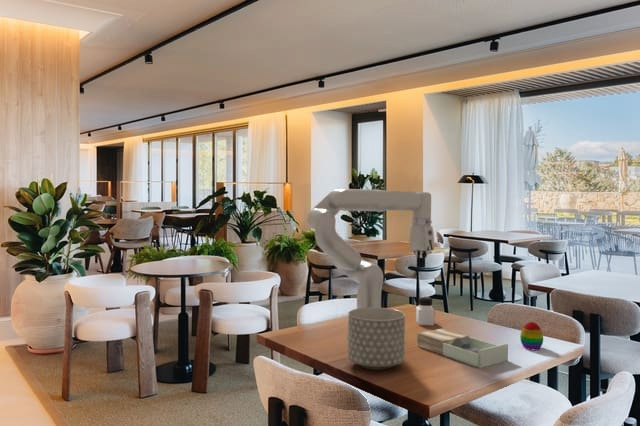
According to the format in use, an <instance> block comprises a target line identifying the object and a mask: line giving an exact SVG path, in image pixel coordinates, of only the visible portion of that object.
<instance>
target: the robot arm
mask: <svg viewBox="0 0 640 426" xmlns="http://www.w3.org/2000/svg"><path fill="white" fill-rule="evenodd" d="M340 211H342V212H381V211H382V212H383V211H410V212H411V211H412V215H411V216H412V217H411V220H412V221H411V222H412V223H411V227H410V233H409V247H410V251H411V252H412V253H413V254H414V255H415V257H416V268H419V269H423V268H426V259H427V256H428V255H430V254H431V255H432V251H434V249H435V235H434V229H433V225H432V223H433V220H432V194H431V193H430V192H427V191H419V192H418V191H417V192H416V191H412V190H409V191H408V190H407V191H406V190H404V191H403V190H397V191H396V190H383V189H369V188H368V189H364V188H363V189H361V188H359V189H356V188H339V189H337V188H336V189H334V190H332V191H331V192H329V193H328V194H327V195H326V196H325V197H324V198H322V200H321V201H319V203H317V204H316V205H315V206H314V207H313V208H311V210H310V211H309V212H308V215H307V217H306V221H307V224H308V227H310V228H311V229H313V230H314V239H315V243H316V244H317V246H318V247H319V249H320V250H321V251H322V252H324V253H325V254H326V255H327V256H328V257H329V258H330V261H331V262H332V265H333V266H334V267H335V268H336V269H338V270H339V271H340V272H341V273H343V274H344V275H345V276H347V277H348V278H349V279H350V280H352V281H353V282H355V283H357V284H358V286H357V287H358V288H357V292H356V309H359V308H382V289H383V285H384V284H383V283H384V273H383V269H382V268H381V267H380V266H379V265H377V264H376V263H374V262H370V261H368V260H365V259H364V258H362V256H361V254H360V252H359V251H358V250H357V249H356V248H355V247H353V246H352V245H351V244H349V243H348V242H347V241H346V240H345V239H343V237H341V236H340V235H339V233H338V232H337V230H336V221H337V220H336V215H337V214H338V213H339V212H340ZM346 340H347V341H348V334H347V335H346Z"/></svg>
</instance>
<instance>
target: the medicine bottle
mask: <svg viewBox="0 0 640 426" xmlns="http://www.w3.org/2000/svg"><path fill="white" fill-rule="evenodd" d="M415 312H416V313H415V322H416V323H417V324H418V326H435V314H436V311H435V309H434V308H433V298H431V297H429V296H420V297H419V298H418V306H416V309H415Z"/></svg>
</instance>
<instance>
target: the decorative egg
mask: <svg viewBox="0 0 640 426" xmlns="http://www.w3.org/2000/svg"><path fill="white" fill-rule="evenodd" d="M520 342H521V343H520V344H522V346H523V348H525V347H526V348H525V349H527V348H529V349H528V350H532V349H537V350H539V349H540V348H541V347H542V346H543V343H544V333H543V331H542V329H541V327H540V326H539V324H537V323H536V322H534V321H529V322H527V323H526V324H524V326H523V327H522V328H521V331H520Z"/></svg>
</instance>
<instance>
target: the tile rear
mask: <svg viewBox="0 0 640 426" xmlns="http://www.w3.org/2000/svg"><path fill="white" fill-rule="evenodd" d="M472 343H473V341H472V340H471V339H470V337H465V338H461V339H459V340H458V342H457V343H456V344H455V347H459V348H461V347H466V346H470V345H471V344H472Z"/></svg>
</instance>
